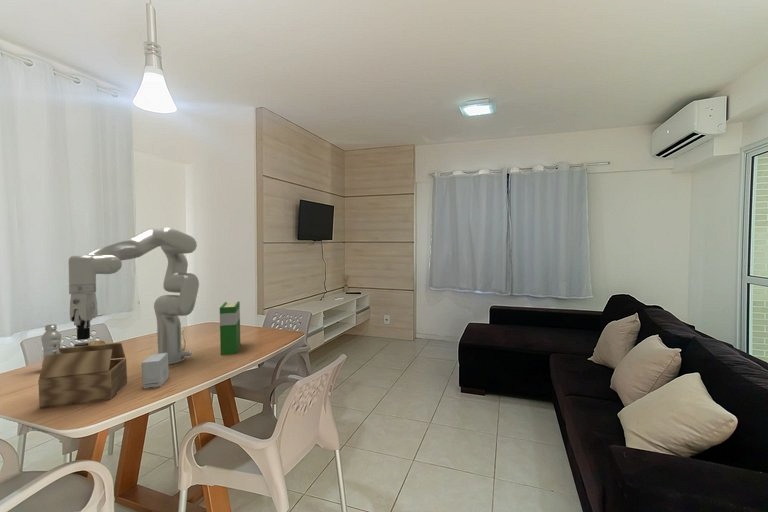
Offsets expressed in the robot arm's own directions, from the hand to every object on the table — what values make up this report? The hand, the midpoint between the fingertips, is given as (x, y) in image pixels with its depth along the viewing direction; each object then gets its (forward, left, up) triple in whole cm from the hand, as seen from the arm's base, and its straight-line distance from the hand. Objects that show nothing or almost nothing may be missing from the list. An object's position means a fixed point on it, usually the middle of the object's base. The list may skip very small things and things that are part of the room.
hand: (83, 338), depth 126 cm
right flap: (0, -6, -7) cm, 10 cm away
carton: (0, 0, -21) cm, 21 cm away
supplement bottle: (+14, -32, -21) cm, 41 cm away
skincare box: (-21, -4, -21) cm, 30 cm away
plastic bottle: (+27, -38, -21) cm, 51 cm away
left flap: (0, +6, -7) cm, 9 cm away
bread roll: (+17, -53, -21) cm, 60 cm away
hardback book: (-46, -42, -21) cm, 66 cm away
